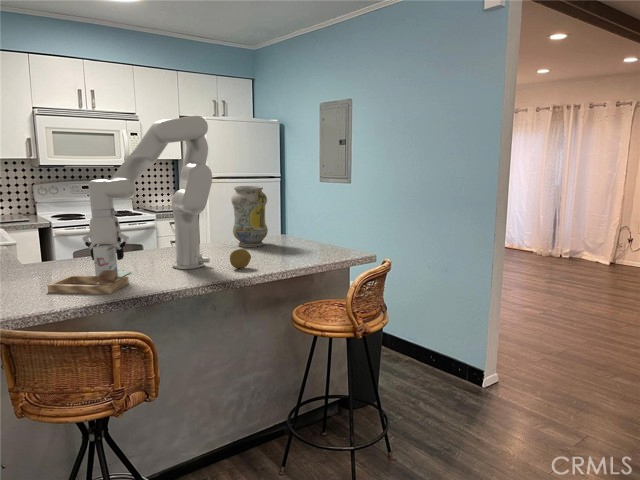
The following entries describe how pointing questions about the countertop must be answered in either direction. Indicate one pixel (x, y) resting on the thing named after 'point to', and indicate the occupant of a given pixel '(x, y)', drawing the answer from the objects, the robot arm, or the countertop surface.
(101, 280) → the offcut top
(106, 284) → the offcut low
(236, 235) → the vase
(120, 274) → the mat
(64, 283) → the frame
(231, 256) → the potato
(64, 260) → the countertop surface
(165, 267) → the countertop surface
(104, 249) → the ink box
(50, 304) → the countertop surface
